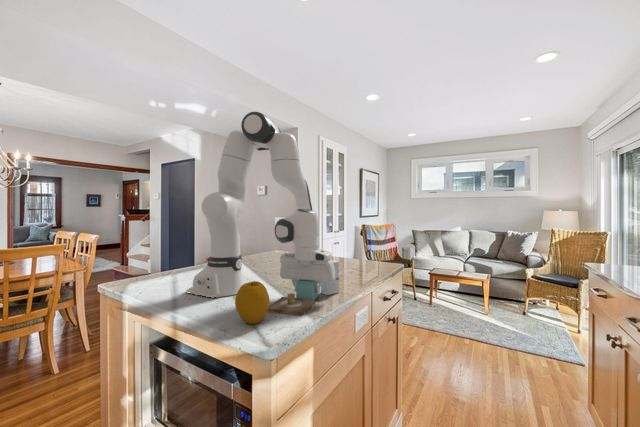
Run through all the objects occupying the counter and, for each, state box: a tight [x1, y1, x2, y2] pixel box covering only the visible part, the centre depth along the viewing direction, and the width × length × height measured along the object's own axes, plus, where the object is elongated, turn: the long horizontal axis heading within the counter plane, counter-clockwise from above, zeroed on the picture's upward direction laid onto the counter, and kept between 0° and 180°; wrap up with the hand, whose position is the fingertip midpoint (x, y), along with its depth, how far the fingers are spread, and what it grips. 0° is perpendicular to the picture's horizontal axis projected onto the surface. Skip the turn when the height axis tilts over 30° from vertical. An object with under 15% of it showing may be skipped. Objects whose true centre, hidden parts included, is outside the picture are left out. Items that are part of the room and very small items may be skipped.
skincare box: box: [320, 259, 340, 296], centre depth 110 cm, size 6×4×12 cm
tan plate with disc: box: [267, 293, 315, 316], centre depth 94 cm, size 12×12×4 cm
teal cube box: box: [295, 280, 319, 301], centre depth 103 cm, size 6×6×7 cm
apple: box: [234, 280, 270, 325], centre depth 83 cm, size 10×10×12 cm
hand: (307, 292), depth 104 cm, fingers closed on teal cube box, 6 cm apart
